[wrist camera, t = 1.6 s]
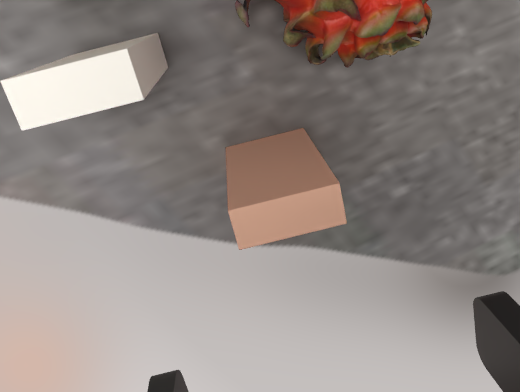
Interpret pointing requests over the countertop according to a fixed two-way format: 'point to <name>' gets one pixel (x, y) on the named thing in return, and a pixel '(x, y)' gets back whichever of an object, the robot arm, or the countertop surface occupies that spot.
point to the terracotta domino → (280, 189)
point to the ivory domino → (86, 82)
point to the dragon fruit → (351, 26)
